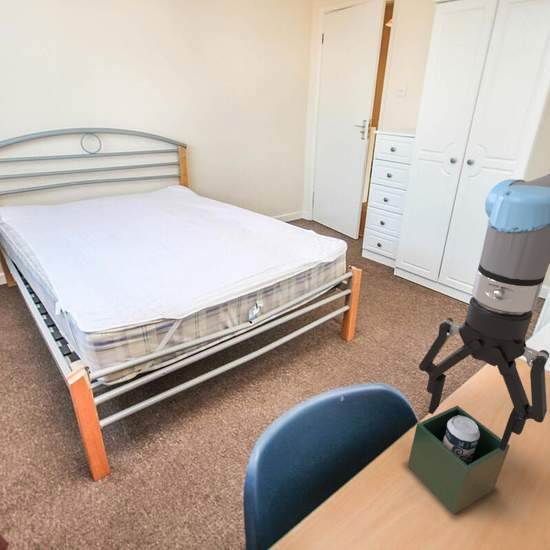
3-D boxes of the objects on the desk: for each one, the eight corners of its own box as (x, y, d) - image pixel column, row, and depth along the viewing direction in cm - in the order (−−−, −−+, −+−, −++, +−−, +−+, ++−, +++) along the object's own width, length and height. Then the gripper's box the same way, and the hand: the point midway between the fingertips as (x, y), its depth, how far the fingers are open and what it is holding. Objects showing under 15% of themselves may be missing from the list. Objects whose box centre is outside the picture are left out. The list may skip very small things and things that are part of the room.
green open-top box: (445, 448, 72) (457, 405, 67) (492, 491, 64) (510, 445, 60) (406, 468, 68) (417, 423, 63) (452, 517, 60) (468, 469, 55)
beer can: (448, 493, 63) (465, 440, 58) (428, 470, 67) (441, 418, 62) (470, 484, 64) (488, 431, 59) (449, 461, 68) (464, 410, 64)
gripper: (409, 286, 56) (390, 403, 65) (604, 347, 42) (545, 485, 51) (430, 271, 61) (409, 382, 70) (609, 321, 47) (555, 451, 56)
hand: (466, 425), depth 61 cm, fingers open, 10 cm apart
